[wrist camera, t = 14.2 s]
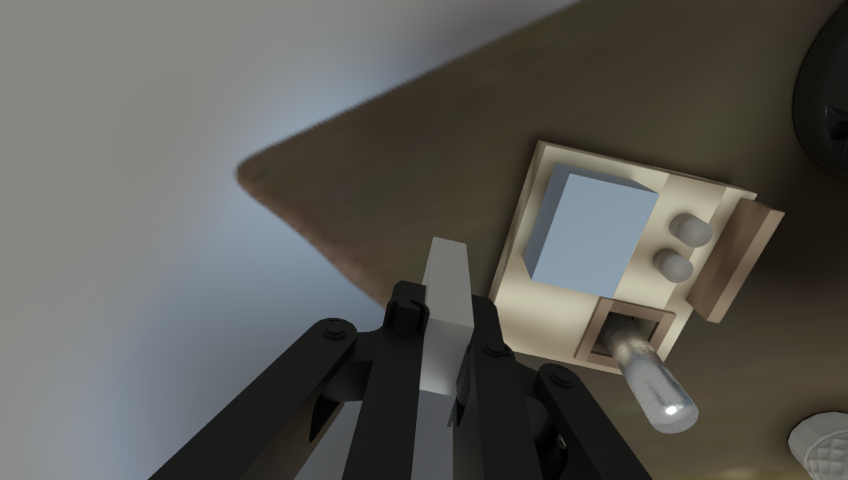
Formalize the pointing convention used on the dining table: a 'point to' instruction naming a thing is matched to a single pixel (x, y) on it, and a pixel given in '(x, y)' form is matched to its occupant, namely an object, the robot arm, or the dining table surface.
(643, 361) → the pin
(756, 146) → the dining table surface
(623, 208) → the block
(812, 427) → the white cup
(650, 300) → the base plate
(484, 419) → the robot arm
